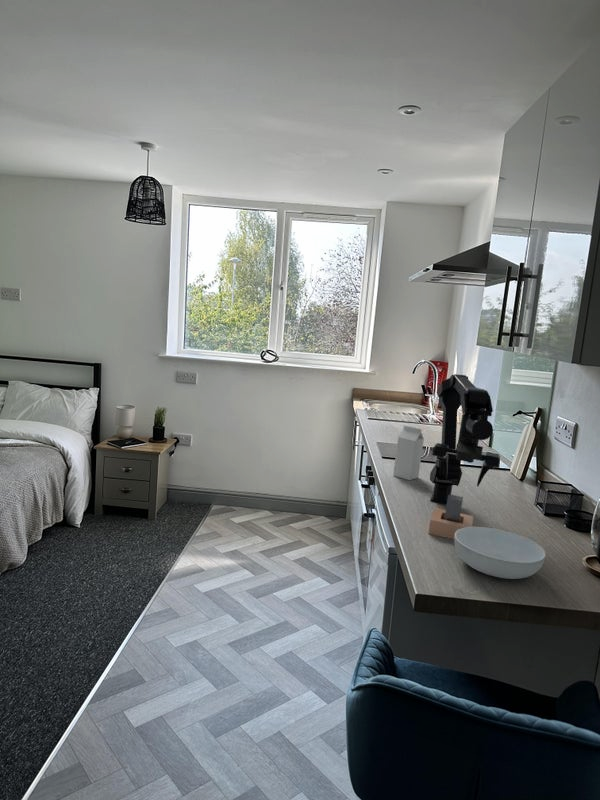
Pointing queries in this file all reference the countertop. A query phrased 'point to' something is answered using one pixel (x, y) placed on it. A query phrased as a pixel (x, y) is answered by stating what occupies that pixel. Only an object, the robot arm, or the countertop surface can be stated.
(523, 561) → the serving bowl
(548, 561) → the countertop surface
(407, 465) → the milk carton
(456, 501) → the tall grey square pillar
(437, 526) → the orange square socket block
